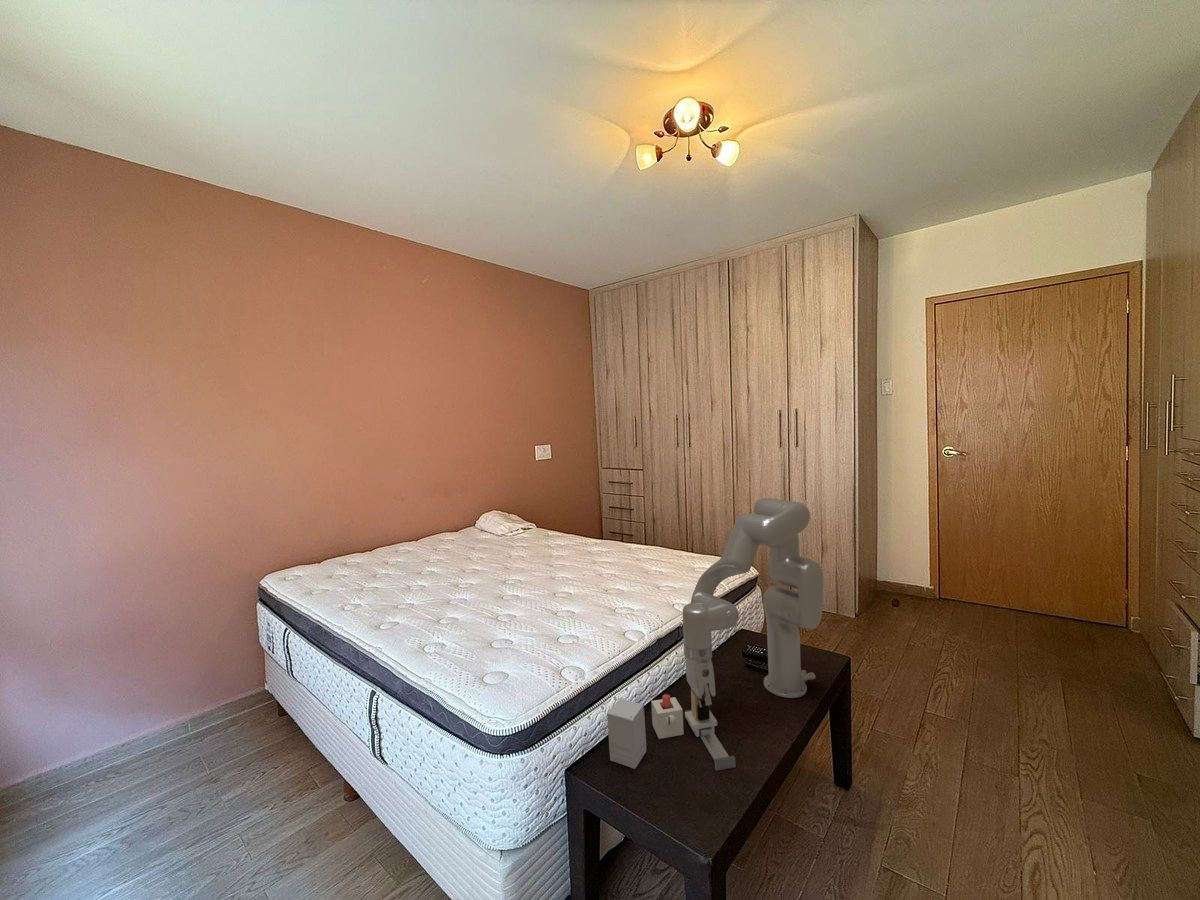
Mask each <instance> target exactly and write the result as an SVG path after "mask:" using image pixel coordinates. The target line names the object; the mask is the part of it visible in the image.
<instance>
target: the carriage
mask: <svg viewBox="0 0 1200 900" xmlns="http://www.w3.org/2000/svg"><path fill="white" fill-rule="evenodd" d="M690 699H691V700H690V702H691V703H690V705H691V709H692V711H689V712H684V717H685V720H686V719H687V720H686V721H687V722H688V725H689V726H690V728H691V730H692V732H693V734H694V735H695V737H696V738H697V737H700V735H699V729H701V728H707V727H710V728H711V729H712V731H713V732H714V734H715V727H716V726H718V720H717V718H716V717H715V716H714V715H713V713H712V711H711V710H710V709H709V717H710V718H709V719H707V720H701V721H699V720H698V714H697V706H698V696H697V695H696V694H695V692H694V691H693V690H691V689H690ZM702 700H705V698H701V701H702ZM715 735H716V734H715Z"/></svg>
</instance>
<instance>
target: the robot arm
mask: <svg viewBox="0 0 1200 900" xmlns="http://www.w3.org/2000/svg"><path fill="white" fill-rule="evenodd" d="M810 520H811V514H810V510H809V508H808V507H807V506H806V505H805V504H804V503H802V502H797V501H793V500H785V499H779V498H772V497H770V498H769V497H768V498H767V497H764V498H760V499H757V500H756V501H755V502H754V505H753V513H748V512H747V513H746V512H745V513H742V514H739V516H738V517H737V518H736V520H735V521H734V523H733V527H732V529H731V532H730V535H729V536H728V537H729V538H728V540H727V542H726V544H725V547H724V549H723V552H722V555H721V557H720V559H719V560H717V561H716V562H714V563H713V564H712V565H711V566H709V567H708V568H707V569H706V570H705V571H704V572H703V573H702V574H701V575H700V576H699V579H698V580H697V583H696V584H695V587H694V589H693V593H692V595H691V599H690V602H689V603H687V604H685V605H684V606H683V608H682V631H683V632H682V633H683V634H682V635H683V653H684V655H683V656H684V657H685V675H686V681H687V683H688V685H689V686H690V691H691V690H693V691H694V692H695V694H696V695H697V696H698V706H697V714H698V720H699V721H701V720H707V719H709V718H710V717H709V710H710V706H711V705H712V698H711V697H716V695H717V694H716V682H715V672H714V666H713V661H712V658H713V645H712V644H713V643H712V632H715V631H724V630H729V629H731V628H733V627H734V626H735V625H736V624H737V622H738V621H739V617H740V613H739V609H738V608H737V606H735V605H734V604H733V603H732V602H730V601H727V600H725V599H724V598H721V597H718V596H716V595H714V594H715V592H716V589H717V587H718V586H719V585H720V584H721V583H722V582H723V581H724V580H726V579H729V578H731V577H735V576H738V575H744V574H746V573H749V572H750V571H751V568H752V566H753V562H754V560H755V557H756V554H757V551H758V549H759V546H764V547H767V548H768V547H769V558H768V559H769V561H768V570H769V571H768V572H769V577H770V578H771V580H773V581H774V582H776V583H778V584H782V585H785V586H787V587H790V588H794V589H796V590H797V591H796V590H793V589H790V588H787V587H785V586H779V585H778V586H777V585H775V586H774V585H773V586H771V587H768V588H767V589H766V590H765V591H764V593H763V595H762V607H763V611H764V616H765V621H766V631H767V632H766V633H767V634H766V636H767V637H766V638H767V641H766V642H767V664H768V665H767V666H768V667H767V668H768V674H767V675H766V676H765V677H763V686H764V688H765V689H766V690H767V691H768V692H769V693H771V694H772V695H775V696H778V697H781V698H788V699H795V698H797V699H798V698H800V697H803V696H804V695H806V694H807V691H808V687H807V684H806V682H807V681H808V680H809V681H811V680H815V679H816V675H815V673H814V672H807V670H805V669H802V667H801V665H802V663H801V634H800V630H799V627H800V628H802V629H805V630H813V629H816V628H817V627H818V626H819V625H820V622H821V621H822V615H823V606H824V605H823V603H824V584H825V583H824V573H823V570H822V567H821V566H820V564H819V563H818V562H816V561H815V560H812V559H810V558H806V557H803V556H802V557H801V555H800V539H799V534H801V532H802V531H804V530H806V528H807V527H808V525H809V523H810ZM701 698H705V700H702V701H701Z"/></svg>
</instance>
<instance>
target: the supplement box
mask: <svg viewBox="0 0 1200 900" xmlns="http://www.w3.org/2000/svg"><path fill="white" fill-rule="evenodd" d="M606 719H607V731H608V732H607V733H608V746H609V747H608V748H609V750H608V751H609V761H611V762H613V763H617V764H620V765H623V766H626V767H629V768H631V769H634V770H635V769H637V767H638V765H639V764H640V762H641V760H642V759H643V758H644V755H646V753H647V736H646V720H645V719H646V718H645V705H644V704H642V703H639V702H636V701H632V700H628V699H626V698H622V697H620V698H619V699H618V700H617V701H616V702H615V703H614V704H613V705H612V707H611V708H610V709H609V710H608V711H607V712H606Z"/></svg>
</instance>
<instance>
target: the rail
mask: <svg viewBox="0 0 1200 900" xmlns="http://www.w3.org/2000/svg"><path fill="white" fill-rule="evenodd" d="M689 711H692V708H690V709H686V710H685V712H689ZM685 712H684V713H685ZM685 720H686V721H687V719H686V718H685ZM699 737H700V738H701V740H702V742H703V744H704V745H705V748H706V749H707V750H708V752H709V754H710V755H711V757H712V759H713V761H714V769H715V771H716V772H718V771H724V770H729V769H733V768H737V767H736V757H735V755H729V754H728V752H727V751H726V749H725V748H724V746H723V744H722V743H721V741H720V740H719V739H718V737H717V735H716V734H714V732H713V731H712V729H711V728H710V727H707V728H701V729H699Z"/></svg>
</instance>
